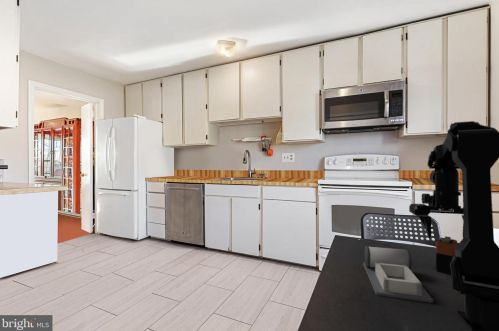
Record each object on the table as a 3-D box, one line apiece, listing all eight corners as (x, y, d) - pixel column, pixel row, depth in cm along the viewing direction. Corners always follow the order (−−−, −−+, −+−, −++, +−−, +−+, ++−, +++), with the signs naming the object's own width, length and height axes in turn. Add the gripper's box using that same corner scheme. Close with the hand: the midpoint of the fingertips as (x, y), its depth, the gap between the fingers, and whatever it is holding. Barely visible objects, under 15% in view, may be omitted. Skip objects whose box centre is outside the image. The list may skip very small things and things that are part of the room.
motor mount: (433, 303, 58) (433, 273, 58) (376, 296, 61) (376, 267, 61) (405, 269, 77) (405, 246, 77) (363, 264, 80) (363, 243, 80)
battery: (435, 271, 76) (435, 238, 76) (440, 265, 80) (440, 234, 80) (453, 275, 72) (453, 241, 72) (457, 269, 77) (457, 237, 77)
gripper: (468, 186, 81) (468, 234, 81) (403, 185, 87) (403, 229, 87) (490, 189, 71) (490, 244, 71) (415, 187, 76) (415, 238, 76)
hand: (446, 238), depth 76 cm, fingers open, 9 cm apart
